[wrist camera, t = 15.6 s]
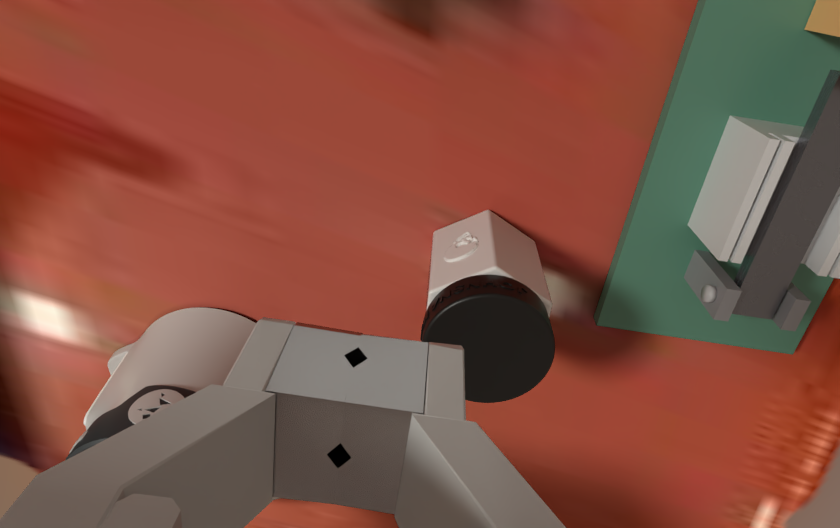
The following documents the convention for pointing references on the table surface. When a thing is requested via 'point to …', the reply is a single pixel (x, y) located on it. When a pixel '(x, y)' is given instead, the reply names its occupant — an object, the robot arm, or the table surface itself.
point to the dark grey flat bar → (794, 209)
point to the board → (682, 150)
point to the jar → (490, 306)
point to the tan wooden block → (825, 17)
